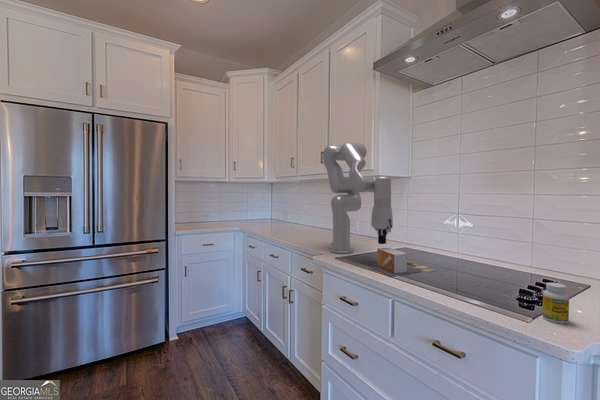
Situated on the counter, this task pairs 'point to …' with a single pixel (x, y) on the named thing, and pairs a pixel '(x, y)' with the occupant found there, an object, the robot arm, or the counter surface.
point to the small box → (392, 260)
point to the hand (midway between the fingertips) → (382, 243)
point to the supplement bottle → (556, 303)
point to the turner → (420, 267)
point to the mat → (386, 272)
